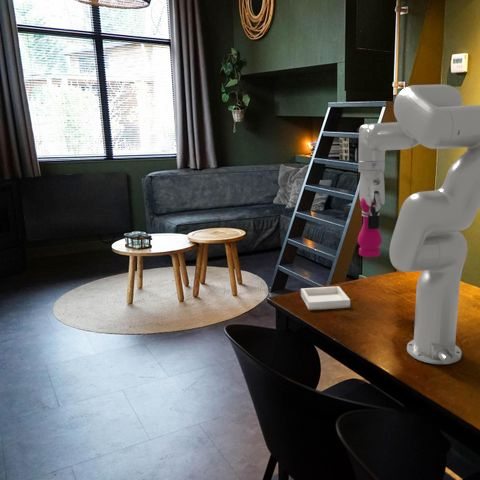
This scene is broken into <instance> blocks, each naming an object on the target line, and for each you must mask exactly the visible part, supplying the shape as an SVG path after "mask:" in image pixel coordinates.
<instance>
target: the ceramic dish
mask: <svg viewBox="0 0 480 480" xmlns="http://www.w3.org/2000/svg"><path fill="white" fill-rule="evenodd" d="M300 296H301V299H302V300H303V302H304V303H305V305H306V306H305V307H307V309H308V311H316V310H319V311H320V310H329V309H330V310H334V309H345V308H346V309H348V308H349V309H350V308H351V299H350V298H349V297H348V295H347V294H346V293H345V291H343V290H342V288H341V287H340V286H339V285H337V286H322V287H321V286H320V287H306V288H300Z"/></svg>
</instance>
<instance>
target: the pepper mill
mask: <svg viewBox="0 0 480 480" xmlns="http://www.w3.org/2000/svg"><path fill="white" fill-rule="evenodd" d="M359 203H360V208H361V217H362V216H363V225H362V227H361V229H360V231H359V234H358V236H357V243H358V245H359V246H360V247H359V248H358V254H359V256H361V257H366V258H372V257H373V258H374V257H379V256H380V254H381V249H380V246H381V244H382V243H383V240H382V239H383V238H382V235H381V232H380V230H379V228H378V229H368V216H369V206H368V205H367V204H366V201H365V199H364V198H362V199H361V201H360V202H359ZM371 205H375V203H372V204H371ZM373 208H375V207H372V209H373ZM362 209H363V211H362Z"/></svg>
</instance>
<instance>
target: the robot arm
mask: <svg viewBox="0 0 480 480" xmlns="http://www.w3.org/2000/svg"><path fill="white" fill-rule="evenodd" d="M393 113H394V118H395V119H396V122H394V121H393V122H392V121H391V122H379V123H376V122H375V123H365V124H362V125H360V127H359V130H358V167H357V169H358V173H360V174H359V175H360V176H359V201H360V202H361V199H362V198H364V199H365V201H366V204H367V205H368V206H369V216H368V229H378V230H379V228H380V227H379V226H380V210H381V208H382V206H384V204H385V203H386V200H385V198H386V194H385V193H386V192H385V190H386V189H385V176H384V175H385V174H384V172H385V165H386V163H385V162H386V161H385V160H386V159H385V158H386V151H395V150H397V151H399V150H407V149H408V150H409V149H412V148H414V147H416V146H419V145H422V146H423V147H425V148H427V149H431V150H441V149H442V150H444V149H458V148H459V149H462V148H466V150H465V151H464V152H463V153H462V154H461V155H460V156H459V157H458V158H457V159H456V160H455V161H454V162H453V163H452V164H451V166H450V168H448V171H447V173H446V176H445V179H444V181H443V184H442V185H441V186H440V188H438V189H436V190H426V191H425V190H423V191H418V192H415V193H412V194H411V195H409V196H408V197H407V198H406V199H405V200H404V202H403V203H402V205H401V207H400V211H399V214H398V217H397V220H396V224H395V227H394V230H393V233H392V235H391V236H392V237H391V240H390V245H389V253H388V255H389V259H390V263H391V264H392V265H391V266H393V267H394V269H396V270H397V271H399V272H403V273H415V272H421V273H420V275H419V277H418V280H417V283H416V294H415V309H414V310H415V311H414V331H413V339H412V340H410V341H409V342H408V343H407V345H406V351H407V353H408V355H410V356H411V357H412V358H413V359H416V360H418V361H420V362H424V363H427V364H432V365H450V364H451V365H452V364H454V363H457V362H459V361H460V360H461V359H462V350H461V348H460V347H459V346H457V345H456V339H457V338H456V336H457V335H456V334H457V325H458V324H457V323H458V310H459V309H458V308H459V299H460V297H459V296H460V287H461V286H460V284H461V279H462V272H463V268H464V264H465V262H466V258H467V254H468V242H467V240H466V237H465V236H464V235H463V234H462V233H461V232H462V231H464V230H466V229H468V228H470V226H471V225H472V224H473V222H474V220H475V219H476V216H477V213H478V211H479V209H480V104H479V105H478V104H477V105H476V104H474V105H463V97H462V94H461V92H460V91H459V90H458V89H457V88H456V87H454V86H452V85H449V84H436V83H435V84H413V85H409V86H408V85H407V86H405V87H404V88H402V89H401V90H400V91H399V92H398V94H397V95H396V97H395V99H394V103H393ZM372 203H375V205H371V204H372ZM372 207H375V208H373V209H372ZM362 211H363V209H362V208H361V212H362ZM361 225H362V226H363V216H362V215H361Z"/></svg>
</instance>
